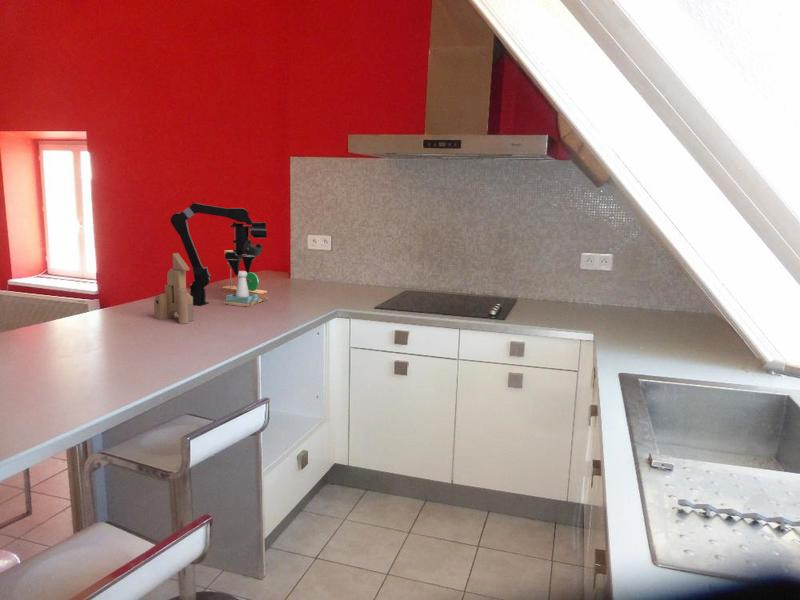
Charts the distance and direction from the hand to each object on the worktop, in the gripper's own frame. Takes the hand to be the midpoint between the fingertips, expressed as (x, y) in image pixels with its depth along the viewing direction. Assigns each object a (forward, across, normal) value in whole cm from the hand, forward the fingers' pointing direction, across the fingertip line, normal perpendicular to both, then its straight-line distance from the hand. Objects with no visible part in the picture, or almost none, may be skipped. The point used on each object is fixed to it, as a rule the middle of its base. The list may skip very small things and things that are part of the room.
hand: (242, 274), depth 251 cm
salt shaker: (+12, 0, 0) cm, 12 cm away
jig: (+13, +3, 0) cm, 13 cm away
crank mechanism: (+13, +26, +14) cm, 33 cm away
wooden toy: (+13, -39, +6) cm, 42 cm away
